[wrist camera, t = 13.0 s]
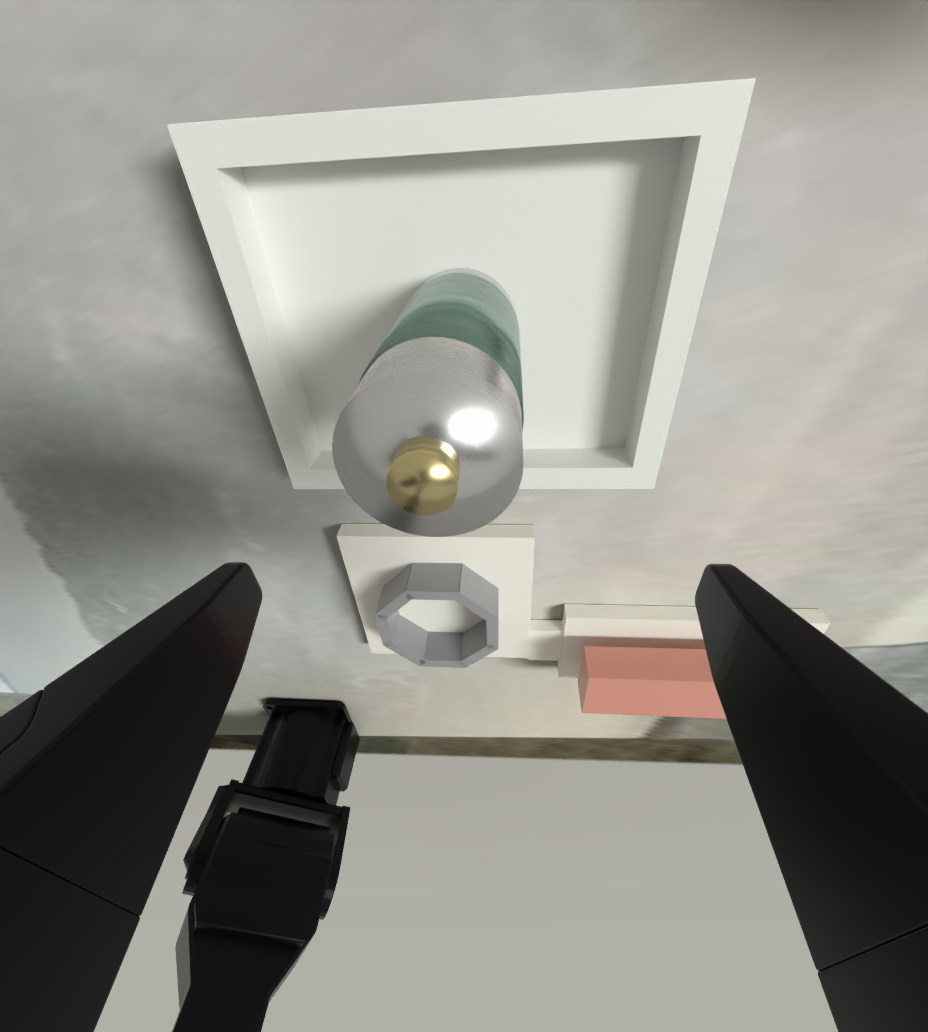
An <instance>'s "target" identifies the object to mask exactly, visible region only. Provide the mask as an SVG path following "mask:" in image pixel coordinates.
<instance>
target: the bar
mask: <svg viewBox="0 0 928 1032" xmlns="http://www.w3.org/2000/svg"><path fill="white" fill-rule="evenodd" d="M578 687H579V694H580V702H581V710H582V713H599V714H623V715H648V716H672V717H696V718H720V719H726V716H725V713H724V710H723V707H722V705H721V702H720V699H719V696H718V693H717V690H716V687H715V684H714V681H713V678H712V674H711V670H710V666H709V662H708V657H707V653H706V649H673V648H638V647H603V646H584V650H583V655H582V661H581V667H580V672H579V678H578Z"/></svg>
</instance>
